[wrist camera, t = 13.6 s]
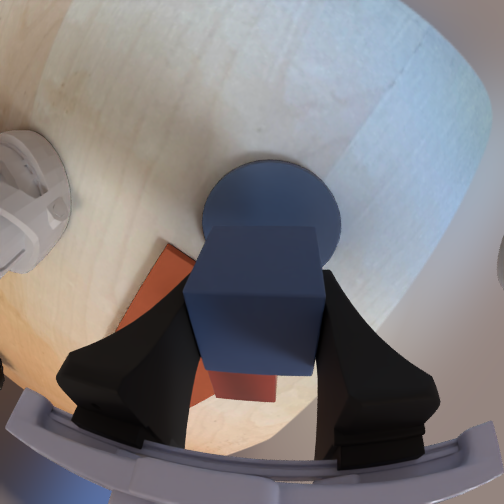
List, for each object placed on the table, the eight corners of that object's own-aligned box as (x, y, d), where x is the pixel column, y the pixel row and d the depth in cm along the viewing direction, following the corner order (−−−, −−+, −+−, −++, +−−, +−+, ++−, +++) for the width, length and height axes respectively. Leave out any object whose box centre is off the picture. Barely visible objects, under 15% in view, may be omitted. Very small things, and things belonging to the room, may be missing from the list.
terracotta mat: (168, 242, 18) (165, 247, 18) (306, 330, 21) (306, 336, 21) (82, 396, 38) (80, 399, 37) (141, 429, 41) (140, 431, 40)
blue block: (315, 225, 12) (326, 295, 8) (309, 303, 14) (312, 376, 11) (212, 224, 12) (181, 291, 9) (223, 301, 15) (204, 370, 11)
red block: (279, 319, 20) (276, 371, 16) (278, 356, 22) (275, 402, 19) (218, 317, 20) (205, 365, 17) (225, 353, 23) (215, 398, 19)
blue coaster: (345, 161, 14) (346, 163, 14) (332, 281, 18) (333, 286, 18) (196, 162, 15) (193, 164, 15) (213, 278, 19) (211, 283, 19)
